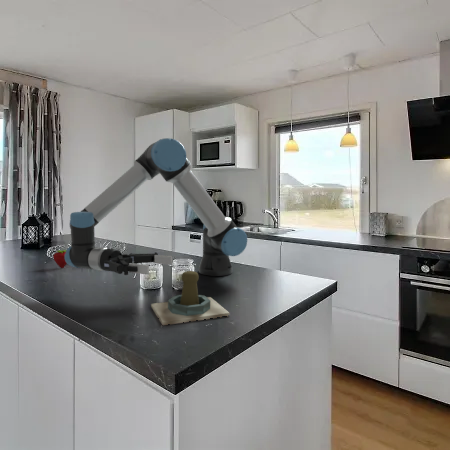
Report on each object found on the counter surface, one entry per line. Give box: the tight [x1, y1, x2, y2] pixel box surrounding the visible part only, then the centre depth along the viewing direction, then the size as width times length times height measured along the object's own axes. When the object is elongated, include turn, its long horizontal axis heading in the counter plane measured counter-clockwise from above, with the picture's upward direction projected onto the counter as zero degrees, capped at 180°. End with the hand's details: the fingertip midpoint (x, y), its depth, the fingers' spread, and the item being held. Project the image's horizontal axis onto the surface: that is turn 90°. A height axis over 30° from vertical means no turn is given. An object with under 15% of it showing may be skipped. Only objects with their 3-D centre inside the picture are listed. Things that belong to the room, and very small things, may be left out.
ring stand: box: [150, 294, 231, 326], centre depth 105 cm, size 20×16×4 cm
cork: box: [180, 270, 200, 306], centre depth 107 cm, size 6×6×11 cm
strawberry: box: [53, 248, 68, 269], centre depth 158 cm, size 6×8×10 cm
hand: (160, 264), depth 108 cm, fingers open, 13 cm apart
